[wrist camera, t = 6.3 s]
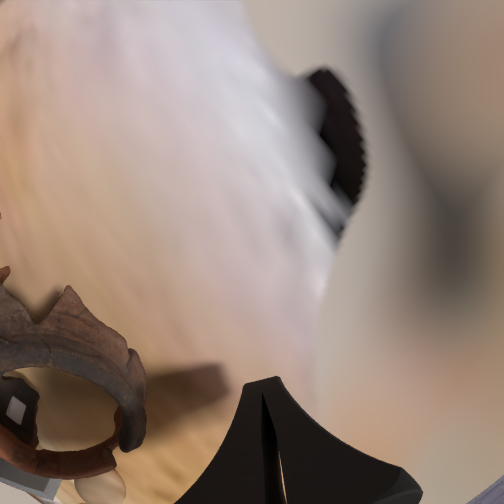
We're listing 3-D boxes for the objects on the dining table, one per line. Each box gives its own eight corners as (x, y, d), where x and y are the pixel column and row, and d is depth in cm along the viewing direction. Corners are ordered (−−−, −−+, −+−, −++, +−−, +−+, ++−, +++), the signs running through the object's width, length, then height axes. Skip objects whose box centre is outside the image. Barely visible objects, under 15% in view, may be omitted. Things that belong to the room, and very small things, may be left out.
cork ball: (139, 482, 14) (131, 520, 11) (100, 480, 14) (89, 513, 11) (113, 453, 13) (99, 494, 10) (73, 451, 13) (57, 486, 10)
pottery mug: (20, 205, 11) (-33, 254, 4) (152, 300, 16) (219, 390, 10) (-46, 368, 9) (-64, 470, 2) (69, 425, 15) (98, 522, 8)
